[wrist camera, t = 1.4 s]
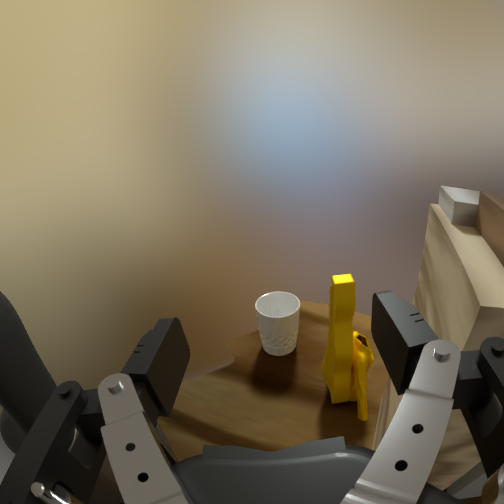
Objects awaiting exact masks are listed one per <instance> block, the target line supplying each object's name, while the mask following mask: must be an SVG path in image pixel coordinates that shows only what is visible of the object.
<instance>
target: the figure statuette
mask: <svg viewBox="0 0 504 504" xmlns="http://www.w3.org/2000/svg"><path fill="white" fill-rule="evenodd" d="M354 311H355V282H354V280H353V278H352V275H351V274H345V275H336V276H332V279H331V287H330V320H329V332H328V341H327V348H326V352H325V356H324V361H323V364H322V375H323V378H324V380H325V382H326V384H327V386H328V388H329V391H330V394H331V401H332V404H334V403H341V402H347V401H352V402H356V401H357V404H358V419H360V420H362V421H366V420H368V415H367V395H366V390H367V371H368V369H369V368H370V366H371V364H372V362H373V360H374V355H373V354H372V351H371V350H370V345H369V342H368V339H367V338H366V337H365V336H363V335H362V334H359V333H358V332H357V331H354V332H353V328H352V320H353V316H354Z"/></svg>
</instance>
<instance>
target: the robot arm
mask: <svg viewBox="0 0 504 504" xmlns="http://www.w3.org/2000/svg"><path fill="white" fill-rule="evenodd" d="M372 300H373V301H372V320H371V331H372V336H373V340H374V342H375V344H376V346H377V348H378V351H379V353H380V355H381V357H382V359H383V362H384V364H385V366H386V369H387V371H388V373H389V375H390V378H391V380H392V383H393V385H394V387H395V390H396V392H397V395H398V396H399V395H403V394H404V395H403V398H402V400H401V402H400V404H399V406H398V409H397V411H396V413H395V415H394V417H393V419H392V421H391V423H390V425H389V427H388V429H387V431H386V433H385V435H384V437H383V439H382V441H381V442H380V444H379V446H378V448H377V450H376V451H374V450H371V449H369V448H365V447H361V446H354V445H345V441H344V436H341V437H335V438H329V439H322V440H315V441H308V442H305V443H302V444H299V445H296V446H293V447H289V448H286V449H282V450H279V451H275V452H267V451H261V450H255V449H250V448H244V447H239V446H209V445H204V448H203V452H202V454H201V455H196V456H192V457H189V458H186V459H184V460H182V461H179V460H178V459H177V457H176V456H175V454H174V452H173V450H172V449H171V447H170V445H169V443H168V441H167V439H166V438H165V436H164V434H163V432H162V430H161V428H160V426H159V424H158V423H157V419H158V416H167V417H170V414H171V411H172V408H173V405H174V402H175V399H176V396H177V393H178V391H179V388H180V385H181V382H182V379H183V376H184V373H185V371H186V368H187V365H188V362H189V358H190V349H189V345H188V343H187V340H186V337H185V334H184V331H183V329H182V326H181V323H180V320H179V319H178V318H177V317H174V318H161V319H159V320H158V322H157V324H156V326H155V327H154V329H153V330H150V331H149V332H148V333H147V334H145V335H144V336H143V337H142V338H141V340H140V341H139V343H138V345H137V347H136V348H135V350H134V353H132V355H131V356H130V358H129V359H128V361H127V363H126V365H125V366H124V368H123V370H122V371H121V373H118V374H113V375H111V376H108V377H107V378H105V379H104V380H103V381H102V382H101V383H100V385H99V387H98V389H91V390H83V389H82V387H81V386H80V384H79V383H78V382H76V381H67V382H65V383H62V384H61V385H59V386H58V387H57V386H56V384H55V382H54V380H53V378H52V377H51V375H50V373H49V372H48V370H47V369H46V367H45V365H44V364H43V362H42V360H41V359H40V357H39V355H38V353H37V351H36V349H35V347H34V345H33V344H32V342H31V340H30V338H29V336H28V334H27V331H26V329H25V327H24V325H23V323H22V321H21V319H20V318H19V316H18V314H17V312H16V310H15V309H14V307H13V306H12V304H11V303H10V301H9V300H8V299H7V298H6V297H5V296H4V295H3V294H2V293H1V292H0V405H1V406H2V407H3V411H2V414H1V418H0V431H1V435H2V438H3V440H4V442H5V443H6V445H7V446H8V447H9V449H10V450H11V451H12V452H14V453H15V454H16V455H15V457H14V459H13V461H12V463H11V465H10V467H9V469H8V471H7V473H6V475H5V476H4V479H3V481H2V483H1V485H0V504H467V503H465V502H463V501H461V500H459V499H457V498H455V497H453V496H451V495H450V494H448V493H446V492H444V491H442V490H440V489H439V488H437V487H435V486H433V485H431V484H430V483H428V482H426V481H427V479H428V476H429V474H430V472H431V469H432V467H433V464H434V462H435V459H436V457H437V454H438V451H439V448H440V446H441V443H442V440H443V437H444V434H445V431H446V427H447V424H448V421H449V417H450V414H451V410H455V409H460V410H461V412H462V414H463V416H464V419H465V421H466V423H467V425H468V428H469V430H470V433H471V435H472V438H473V440H474V443H475V445H476V448H477V450H478V453H479V456H480V458H481V461H482V464H483V467H484V470H485V473H486V476H487V480H486V482H485V484H484V485H483V488H482V493H481V496H482V498H481V504H504V339H503V338H500V337H489V338H486V339H485V340H484V341H483V342H482V343H481V346H480V349H479V350H474V351H460V350H459V348H458V347H457V346H456V345H455V344H454V343H452V342H450V341H447V340H440V339H439V338H438V337H437V335H436V334H435V333H434V331H433V330H432V328H431V327H430V326H429V324H428V323H427V322H426V320H424V318H423V316H422V315H421V314H420V313H419V311H418V310H417V309H416V307H415V306H414V305H413V304H411V303H409V302H407V301H406V300H401V301H399V299H398V298H397V297H396V296H395V294H394V293H393V291H391V290H390V291H384V292H379V293H374V294H373V299H372ZM494 394H495V395H496V396H497V398H498V400H499V402H500V404H501V406H502V408H501V406H500V404H499V403H498V401H497V399H496V397H495V395H494Z"/></svg>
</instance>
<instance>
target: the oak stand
mask: <svg viewBox="0 0 504 504" xmlns="http://www.w3.org/2000/svg"><path fill="white" fill-rule="evenodd" d="M412 304H413V305H414V306H415V307H416V309H417V310H418V311H419V313H420V314H421V315H422V316H423V318H424V320H426V322H427V323H428V324H429V326H430V327H431V328H432V330H433V331H434V333H435V334H436V335H437V337H438V338H439V339H440V340H447V341H450V342H452V343H454V344H455V345H456V346H457V347H458V348H459V350H460V351H474V350H479V349H480V346H481V343H482V342H483V341H484V340H485V339H486V338H489V337H500V338H503V339H504V267H503V266H502V264H501V263H500V261H499V260H498V258H497V257H496V255H495V254H494V252H493V251H492V250H491V248H490V247H489V245H488V244H487V243H486V241H485V240H484V239H483V237H482V236H481V235H480V233H479V232H478V231H477V229H476V228H475V227H470V226H463V225H456V224H451V223H450V221H449V219H448V218H447V216H446V215H445V213H444V212H443V210H442V209H441V207H440V206H439V205H438V204H430V207H429V217H428V224H427V231H426V238H425V245H424V251H423V257H422V262H421V267H420V273H419V278H418V282H417V287H416V291H415V295H414V299H413V303H412ZM403 395H404V394H403ZM403 395H399V396H398V395H397V392H396V390H395V387H394V385H393V383H392V380H391V378H390V377H389V380H388V383H387V385H386V388H385V390H384V393H383V395H382V398H381V401H380V408H379V414H378V420H377V425H376V431H375V436H374V441H373V445H372V450H374V451H376V450H377V448H378V446H379V444H380V442H381V441H382V439H383V437H384V435H385V433H386V431H387V429H388V427H389V425H390V423H391V421H392V419H393V417H394V415H395V413H396V411H397V409H398V406H399V404H400V402H401V400H402V398H403ZM494 395H495V394H494ZM495 397H496V399H497V401H498V403H499V404H500V402H499V400H498V398H497V396H496V395H495ZM500 406H501V404H500ZM501 408H502V406H501ZM480 461H481V458H480V456H479V453H478V450H477V448H476V445H475V443H474V440H473V438H472V435H471V433H470V430H469V428H468V425H467V423H466V421H465V419H464V416H463V414H462V412H461V410H460V409H455V410H451V414H450V417H449V421H448V424H447V427H446V431H445V434H444V437H443V440H442V443H441V446H440V448H439V451H438V454H437V457H436V459H435V462H434V464H433V467H432V469H431V472H430V474H429V476H428V479H427V481H426V482H428V483H430V484H431V485H433V486H435V487H437V488H439V489H440V490H442V491H443V490H444V489H446V488H447V487H448V486H450V485H451V484H453V483H454V482H455V481H457V480H458V479H459V478H461V477H462V476H463V475H464V474H466V473H467V472H468V471H469V470H471V469H472V468H473V467H474V466H475V465H477V464H478V463H479V462H480Z"/></svg>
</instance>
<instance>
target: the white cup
mask: <svg viewBox="0 0 504 504" xmlns="http://www.w3.org/2000/svg"><path fill="white" fill-rule="evenodd" d="M255 308H256V314H257V321H258V327H259V332H260V337H261V342H262V347H263V349H264V351H266V352H267V353H268V354H270V355H274V356H283V355H287V354H289V353H291V352H292V351H293V350H294V349H295V348H296V342H297V335H298V328H299V314H300V301H299V299H298V298H297V297H296V296H295V295H293V294H291V293H287V292H271V293H268V294H265V295H263V296H261V297H260V298H259V299H258V300H257V302H256V304H255Z"/></svg>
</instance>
